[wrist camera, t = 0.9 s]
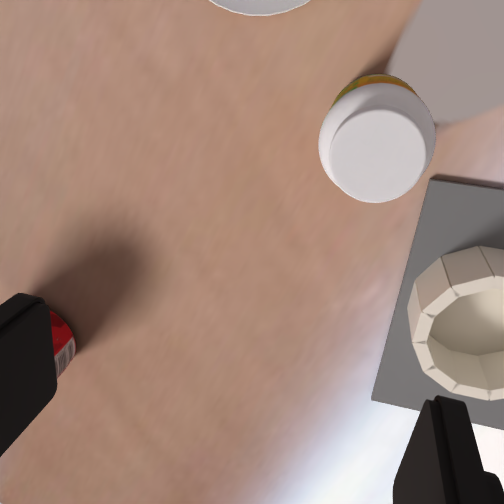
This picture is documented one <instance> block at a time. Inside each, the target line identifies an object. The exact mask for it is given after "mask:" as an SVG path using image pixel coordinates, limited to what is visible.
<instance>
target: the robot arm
mask: <svg viewBox="0 0 504 504" xmlns="http://www.w3.org/2000/svg"><path fill="white" fill-rule="evenodd" d="M56 390H57V376H56V366H55V356H54V346H53V336H52V326H51V316H50V309H49V307H48V305H46V304H45V301H44V300H43V298H40V297H37V296H32V295H28V294H24V293H18V294H16V295H14V296H13V297H11V298H10V299H8V300H7V301H6V302H4V303H3V304H1V305H0V457H1V456H2V454H3V453H4V452H5V451H6V450H7V449H8V448H9V447H10V445H11V444H12V443H13V442H14V441H15V440H16V439H17V438H18V437H19V435H20V434H21V433H22V432H23V431H24V430H25V429H26V428H27V426H28V425H29V424H30V423H31V422H32V421H33V420H34V419H35V417H36V416H37V415H38V414H39V413H40V412H41V411H42V410H43V408H44V407H45V406H46V405H47V404H48V403H49V402H50V401H51V399H52V398H53V397H54V395H55V393H56ZM393 504H504V491H503V488H502V485H501V482H500V480H499V478H498V477H497V476H496V475H495V474H493V473H490V472H486V471H484V469H483V466H482V462H481V458H480V454H479V451H478V447H477V443H476V439H475V436H474V432H473V428H472V424H471V421H470V417H469V413H468V410H467V406H466V404H465V402H464V401H460V400H456V399H452V398H448V397H444V396H440V395H436V397H435V398H434V400H428V399H426V400H425V402H424V404H423V407H422V409H421V412H420V414H419V417H418V420H417V422H416V425H415V427H414V430H413V433H412V435H411V438H410V440H409V443H408V446H407V448H406V451H405V453H404V456H403V459H402V461H401V464H400V466H399V469H398V472H397V474H396V477H395V480H394V485H393Z"/></svg>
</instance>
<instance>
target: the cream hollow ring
mask: <svg viewBox="0 0 504 504" xmlns="http://www.w3.org/2000/svg"><path fill="white" fill-rule="evenodd" d="M407 310H408V317H409V324H410V331H411V338H412V344H413V347H414V349H415V352H416V355H417V357H418V360H419V362H420V365H421V368H422V370H423V371H424V373H425V374H427V375H428V376H429V377H431V378H432V379H433V380H435V381H436V382H437V383H439V384H440V385H441V386H443V387H444V388H445V389H447V390H448V391H449V392H452V393H455V394H460V395H464V396H469V397H473V398H478V399H483V400H487V401H488V400H489V399H490V401H492V400H498V399H504V250H503V249H497V248H491V247H484V246H479V247H478V246H475V247H471V248H468V249H464V250H461V251H457V252H454V253H450V254H446V255H443V256H442V258H441V257H439V258H438V259H437V260H436V261H435V262H434V263H433V264H431V265H430V266H429V267H428V268H427V269H426V270H425V271H424V272H423V273H422V274H420V275H419V276H418V277H417V278H416V280H415V281H414V285H413V289H412V292H411V296H410V299H409V303H408V306H407Z"/></svg>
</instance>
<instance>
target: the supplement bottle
mask: <svg viewBox="0 0 504 504" xmlns="http://www.w3.org/2000/svg"><path fill="white" fill-rule="evenodd" d="M435 142H436V132H435V126H434V122H433V119H432V116H431V114H430V112H429V110H428V108H427V106H426V105H425V104H424V102H423V101H422V100H421V99H420V98H419V96H417V94H416V93H415V91H414V90H413V89H412V88H411V87H410V86H409V85H408V84H407V83H405V82H404V81H402V80H401V79H399V78H396V77H394V76H391V75H386V74H372V75H367V76H364V77H361V78H359V79H356V80H355V81H353V82H351V83H350V84H349V85H347V86H346V87H345V88H344V89H343V90H342V91H341V92H340V94H339V95H338V96H337V98H336V99H335V101H334V103H333V105H332V107H331V108H330V110H329V112H328V114H327V115H326V117H325V119H324V121H323V124H322V127H321V130H320V135H319V155H320V159H321V162H322V165H323V168H324V170H325V172H326V173H327V175H328V176H329V178H330V179H331V180H332V181H333V182H334V183H335V184H336V185H337V186H338V187H340V188H341V189H342V190H343V191H344V192H345V193H346V194H348V195H349V196H351V197H353V198H355V199H357V200H360V201H364V202H370V203H381V202H387V201H390V200H393V199H396V198H398V197H400V196H402V195H403V194H405V193H406V192H407V191H409V190H410V189H411V188H412V187H413V186H414V185H415V184H416V182H417V181H418V180H419V178H420V177H421V176H422V174H423V173H424V172H425V170H426V169H427V167H428V165H429V163H430V161H431V159H432V156H433V153H434V149H435Z"/></svg>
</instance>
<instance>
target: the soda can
mask: <svg viewBox="0 0 504 504" xmlns="http://www.w3.org/2000/svg"><path fill="white" fill-rule="evenodd" d="M50 316H51V326H52V336H53V346H54V356H55V366H56V376H57V378H58V377H59V376H60V375H61V374H62V373H63V371H64V370H65V369H66V367H67V366H68V365H69V363H70V362H71V360H72V359H73V357H74V355H75V352H76V343H75V339H74V336H73V334H72V332H71V330H70V328H69V327H68V325H67V324H66V323H65V322H64V321H63V320H62V319H61V318H60V317H59V316H58V315H56V314H55V313H54V312H52V311H50Z"/></svg>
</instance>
